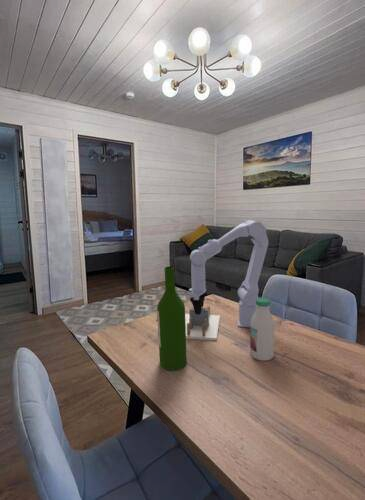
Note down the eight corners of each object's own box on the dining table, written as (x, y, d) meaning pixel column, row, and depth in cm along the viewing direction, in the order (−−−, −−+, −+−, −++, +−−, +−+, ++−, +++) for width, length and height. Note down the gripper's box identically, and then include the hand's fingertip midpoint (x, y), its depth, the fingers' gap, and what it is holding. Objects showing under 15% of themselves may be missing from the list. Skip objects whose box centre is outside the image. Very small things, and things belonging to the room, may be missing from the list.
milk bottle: (274, 351, 95) (276, 297, 91) (272, 363, 88) (273, 305, 84) (252, 347, 98) (253, 294, 94) (248, 358, 91) (248, 302, 87)
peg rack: (220, 317, 123) (220, 306, 122) (216, 340, 103) (216, 327, 102) (185, 315, 127) (185, 304, 126) (175, 337, 106) (175, 324, 105)
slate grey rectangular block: (209, 324, 115) (209, 308, 114) (208, 326, 113) (208, 310, 112) (190, 322, 117) (190, 307, 115) (189, 325, 114) (189, 309, 113)
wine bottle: (159, 356, 94) (154, 265, 88) (185, 354, 95) (182, 263, 89) (159, 372, 85) (154, 272, 79) (188, 369, 86) (185, 270, 80)
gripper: (191, 274, 119) (192, 303, 121) (185, 284, 105) (186, 317, 107) (207, 274, 118) (208, 304, 120) (203, 284, 104) (204, 318, 106)
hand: (199, 310), depth 114 cm, fingers open, 7 cm apart
